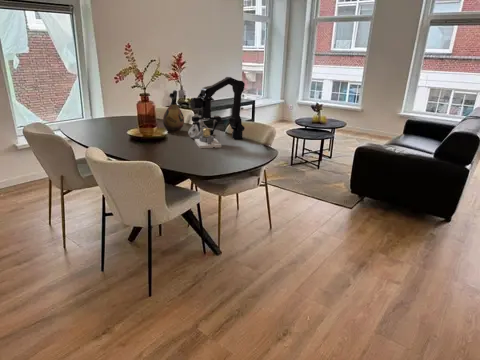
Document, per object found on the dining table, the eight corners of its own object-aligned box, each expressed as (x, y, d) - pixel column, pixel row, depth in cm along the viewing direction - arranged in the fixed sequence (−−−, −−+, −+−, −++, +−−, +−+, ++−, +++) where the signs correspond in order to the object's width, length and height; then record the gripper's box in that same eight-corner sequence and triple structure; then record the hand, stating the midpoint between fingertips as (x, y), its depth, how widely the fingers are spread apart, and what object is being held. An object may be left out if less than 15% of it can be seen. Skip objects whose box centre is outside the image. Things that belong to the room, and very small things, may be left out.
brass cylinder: (209, 139, 231) (209, 127, 228) (210, 141, 227) (210, 129, 224) (202, 139, 229) (202, 128, 227) (204, 141, 225) (204, 129, 223)
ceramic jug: (182, 134, 249) (181, 92, 239) (161, 133, 249) (159, 91, 239) (186, 129, 265) (185, 89, 255) (166, 128, 265) (164, 88, 255)
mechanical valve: (185, 134, 238) (195, 116, 240) (198, 146, 252) (208, 129, 255) (195, 137, 232) (206, 119, 235) (208, 150, 247) (218, 133, 249)
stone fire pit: (215, 140, 235) (215, 131, 233) (221, 147, 219) (221, 137, 217) (194, 141, 231) (194, 131, 229) (199, 148, 215) (199, 138, 213)
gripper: (217, 105, 230) (217, 128, 236) (190, 106, 225) (190, 129, 230) (221, 108, 220) (221, 132, 226) (192, 108, 215) (193, 133, 220)
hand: (206, 131), depth 226 cm, fingers open, 9 cm apart
